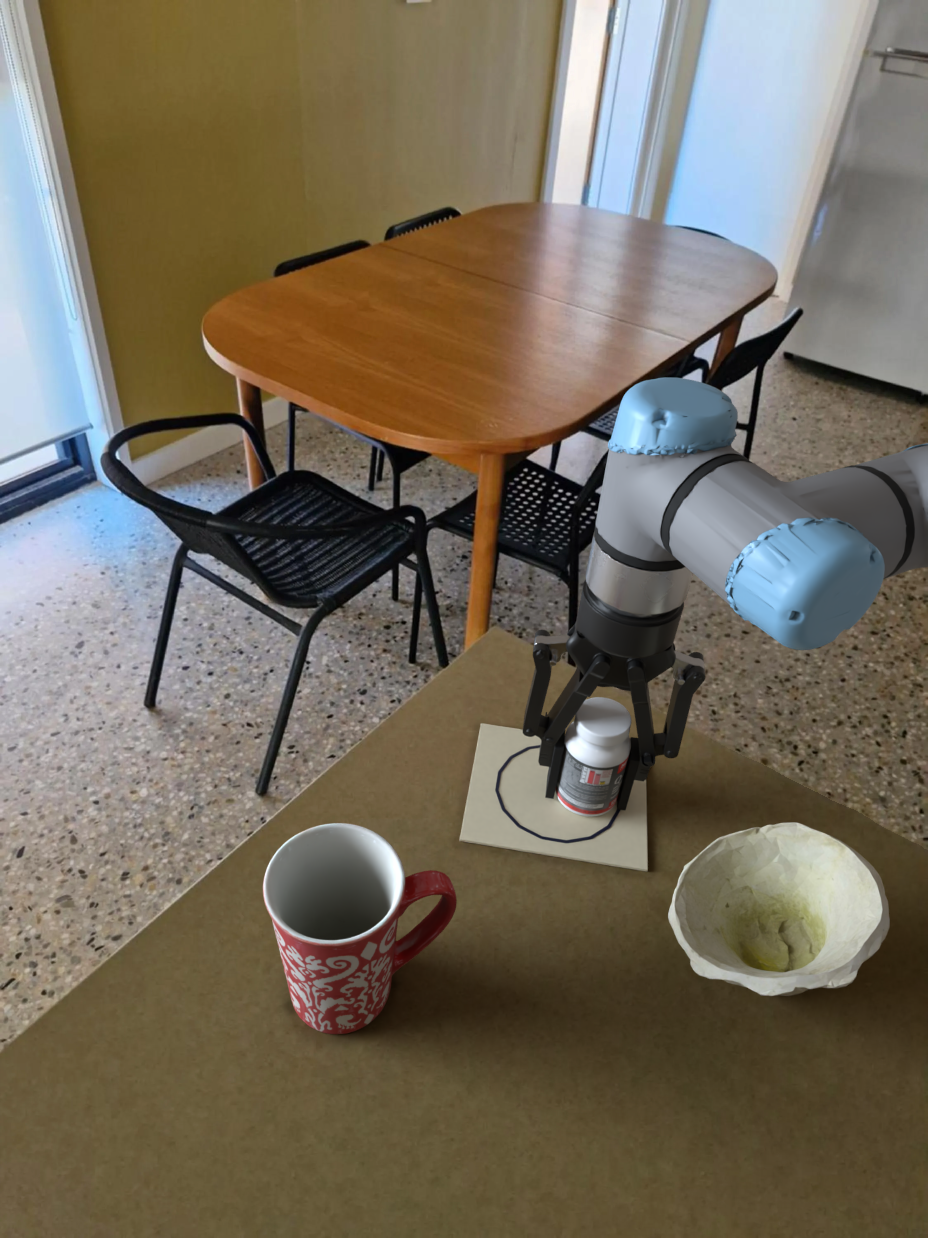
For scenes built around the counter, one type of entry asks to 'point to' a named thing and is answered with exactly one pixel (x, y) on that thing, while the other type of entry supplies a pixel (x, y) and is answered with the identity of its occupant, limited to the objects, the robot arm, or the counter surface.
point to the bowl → (779, 910)
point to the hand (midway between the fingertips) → (585, 792)
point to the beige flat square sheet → (544, 808)
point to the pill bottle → (594, 757)
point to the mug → (346, 921)
